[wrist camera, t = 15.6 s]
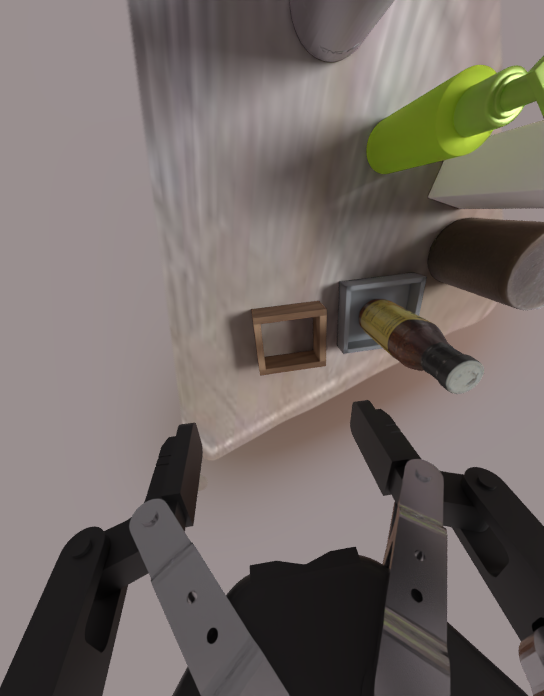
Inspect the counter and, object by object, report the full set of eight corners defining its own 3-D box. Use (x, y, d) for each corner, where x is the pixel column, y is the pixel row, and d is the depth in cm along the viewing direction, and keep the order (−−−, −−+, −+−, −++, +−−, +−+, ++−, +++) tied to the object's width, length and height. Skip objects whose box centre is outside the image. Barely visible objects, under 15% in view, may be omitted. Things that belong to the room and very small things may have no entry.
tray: (339, 281, 41) (346, 286, 38) (414, 272, 42) (426, 276, 39) (336, 345, 46) (343, 353, 44) (403, 336, 47) (413, 343, 44)
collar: (251, 309, 41) (252, 318, 38) (318, 300, 42) (326, 308, 38) (258, 362, 46) (260, 375, 42) (318, 354, 47) (325, 365, 43)
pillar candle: (419, 244, 40) (511, 263, 27) (480, 203, 38) (610, 201, 25) (436, 294, 44) (521, 330, 31) (491, 259, 42) (606, 282, 29)
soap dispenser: (387, 190, 36) (536, 171, 18) (357, 148, 33) (497, 76, 15) (422, 152, 34) (622, 90, 17) (393, 103, 31) (596, -32, 14)
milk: (426, 197, 37) (637, 184, 17) (449, 146, 34) (726, 63, 15) (461, 209, 38) (692, 208, 19) (485, 160, 36) (783, 102, 16)
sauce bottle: (395, 320, 45) (499, 390, 27) (362, 337, 45) (442, 415, 28) (386, 287, 42) (496, 342, 24) (350, 306, 42) (432, 372, 25)
